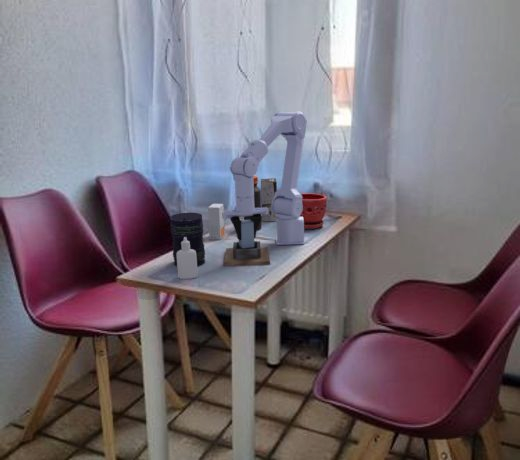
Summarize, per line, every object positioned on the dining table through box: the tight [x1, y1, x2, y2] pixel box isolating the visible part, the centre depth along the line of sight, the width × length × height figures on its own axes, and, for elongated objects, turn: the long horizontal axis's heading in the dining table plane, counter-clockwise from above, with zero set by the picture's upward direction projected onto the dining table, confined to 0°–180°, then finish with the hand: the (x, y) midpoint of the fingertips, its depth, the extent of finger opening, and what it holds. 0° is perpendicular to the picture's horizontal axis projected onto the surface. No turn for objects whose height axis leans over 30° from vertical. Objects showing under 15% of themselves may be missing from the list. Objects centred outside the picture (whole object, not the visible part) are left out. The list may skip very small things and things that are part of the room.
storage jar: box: [169, 212, 206, 268], centre depth 147 cm, size 10×10×15 cm
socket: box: [223, 240, 271, 267], centre depth 152 cm, size 14×14×4 cm
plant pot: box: [299, 192, 328, 230], centre depth 183 cm, size 13×13×12 cm
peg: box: [238, 219, 255, 249], centre depth 150 cm, size 4×4×8 cm
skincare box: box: [207, 203, 225, 241], centre depth 172 cm, size 6×4×12 cm
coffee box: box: [260, 178, 278, 222], centre depth 195 cm, size 9×6×16 cm
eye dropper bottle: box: [176, 237, 199, 280], centre depth 136 cm, size 4×6×12 cm
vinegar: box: [243, 175, 263, 231], centre depth 181 cm, size 7×7×20 cm
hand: (246, 238), depth 150 cm, fingers closed on peg, 4 cm apart
